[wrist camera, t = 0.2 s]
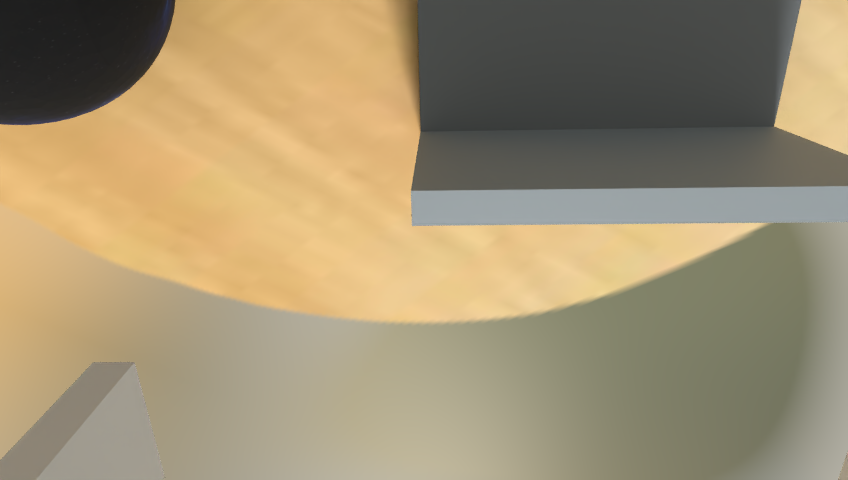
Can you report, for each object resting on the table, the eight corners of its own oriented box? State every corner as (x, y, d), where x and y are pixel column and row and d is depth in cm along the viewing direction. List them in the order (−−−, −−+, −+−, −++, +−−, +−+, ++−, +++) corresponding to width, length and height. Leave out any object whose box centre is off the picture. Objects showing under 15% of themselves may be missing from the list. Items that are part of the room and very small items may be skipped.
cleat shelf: (417, -100, 31) (399, -168, 18) (792, -111, 30) (1050, -190, 18) (422, 144, 36) (412, 225, 24) (743, 140, 36) (912, 221, 23)
